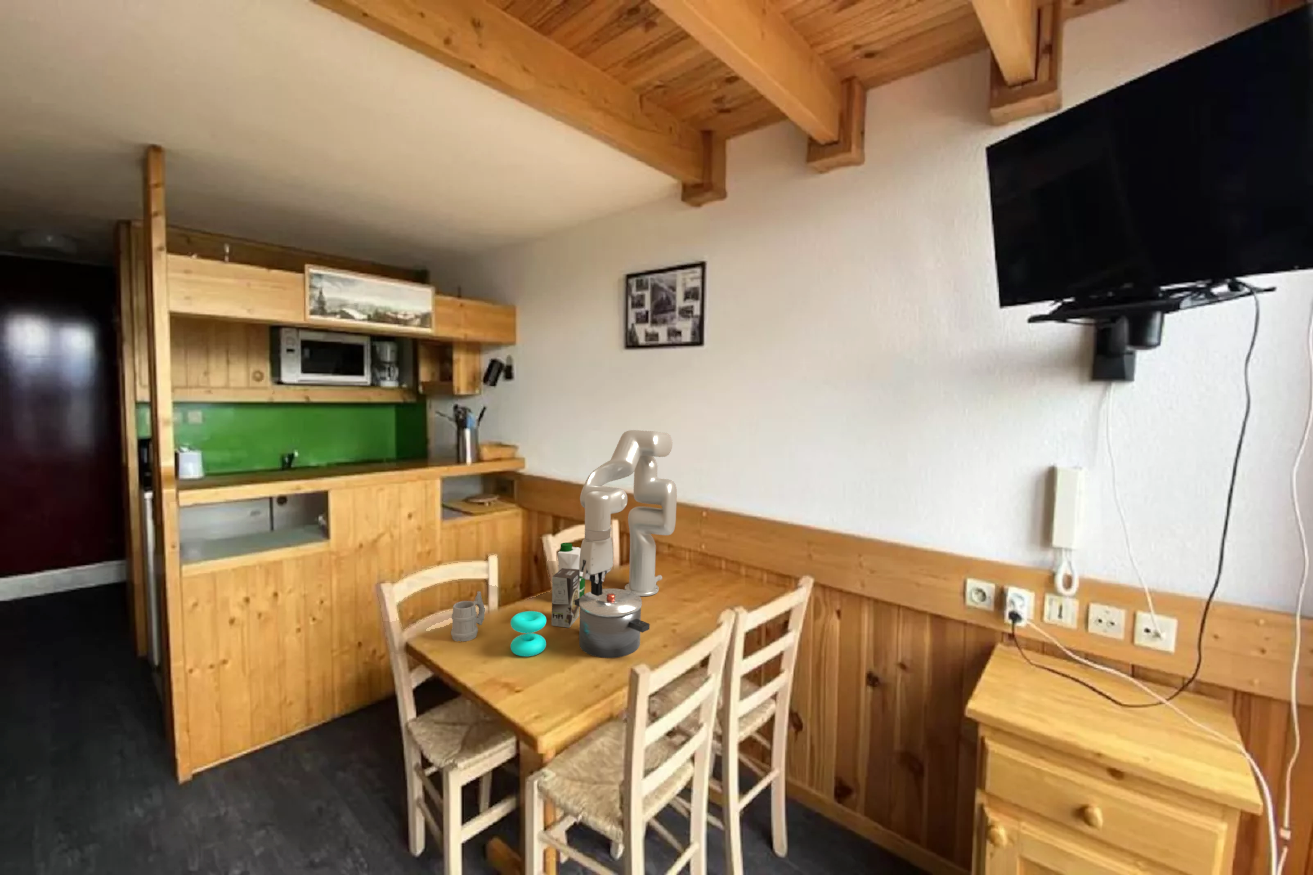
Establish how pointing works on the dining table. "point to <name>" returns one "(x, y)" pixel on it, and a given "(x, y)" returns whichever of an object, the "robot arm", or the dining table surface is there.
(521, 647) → the donuts
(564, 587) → the coffee box
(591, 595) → the lid
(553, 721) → the dining table surface
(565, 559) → the milk carton
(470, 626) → the mug
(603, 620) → the cooker pot
